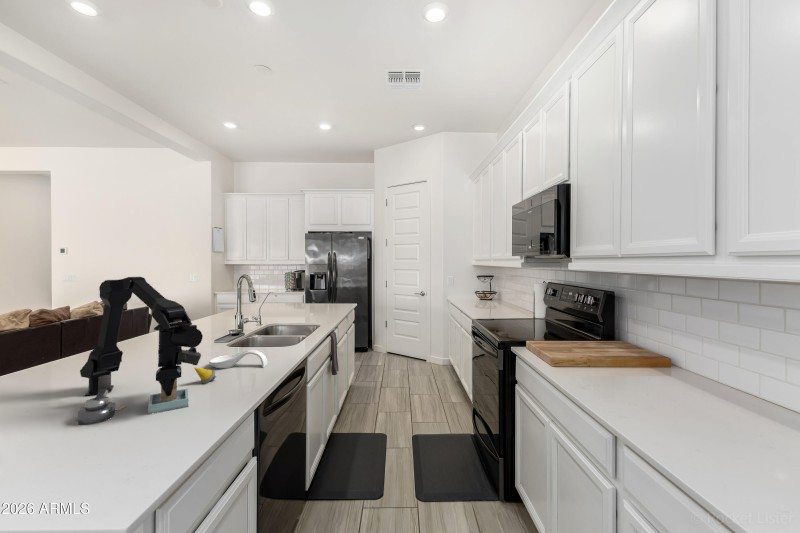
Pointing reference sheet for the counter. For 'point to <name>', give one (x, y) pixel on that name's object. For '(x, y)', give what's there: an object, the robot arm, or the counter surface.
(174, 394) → the block
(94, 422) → the crank base
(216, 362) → the spoon rest
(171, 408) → the tray
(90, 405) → the crank
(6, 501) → the counter surface
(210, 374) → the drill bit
